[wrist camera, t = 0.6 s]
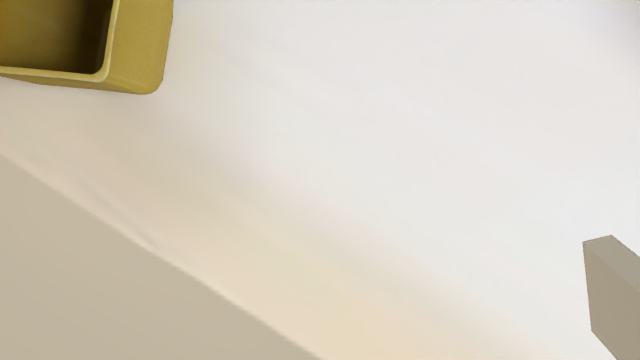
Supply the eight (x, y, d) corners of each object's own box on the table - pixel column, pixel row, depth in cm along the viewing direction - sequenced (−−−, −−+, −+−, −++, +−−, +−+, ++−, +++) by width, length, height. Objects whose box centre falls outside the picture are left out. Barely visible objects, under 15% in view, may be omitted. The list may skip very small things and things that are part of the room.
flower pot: (88, -22, 43) (-9, -87, 34) (203, -16, 41) (132, -83, 32) (68, 103, 42) (-36, 69, 33) (183, 115, 40) (105, 83, 31)
